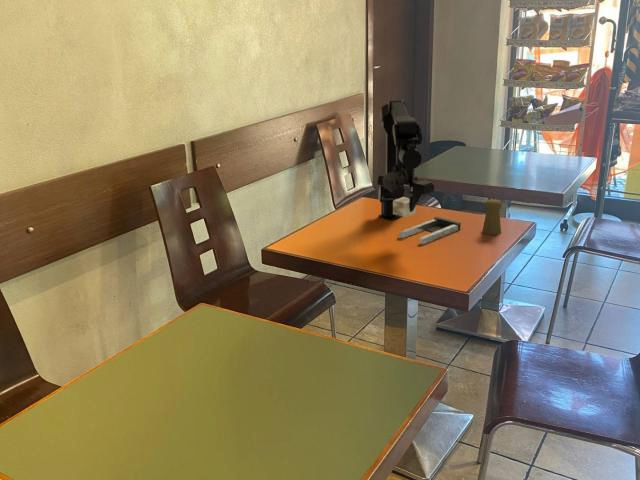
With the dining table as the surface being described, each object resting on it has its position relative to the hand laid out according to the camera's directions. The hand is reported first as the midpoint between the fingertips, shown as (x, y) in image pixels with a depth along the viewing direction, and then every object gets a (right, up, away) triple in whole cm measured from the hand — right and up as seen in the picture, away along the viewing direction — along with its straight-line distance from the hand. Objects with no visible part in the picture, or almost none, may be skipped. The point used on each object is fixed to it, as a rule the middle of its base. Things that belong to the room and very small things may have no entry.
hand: (404, 209), depth 196 cm
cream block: (0, -1, 0) cm, 1 cm away
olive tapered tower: (+31, -7, +12) cm, 33 cm away
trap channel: (+10, -7, +12) cm, 17 cm away
